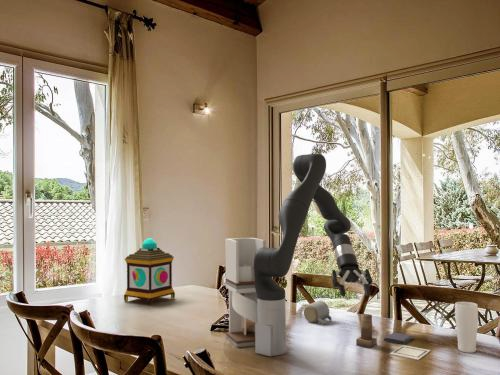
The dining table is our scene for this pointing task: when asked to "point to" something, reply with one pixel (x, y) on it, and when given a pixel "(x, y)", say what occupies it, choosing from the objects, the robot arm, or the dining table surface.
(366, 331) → the stamp
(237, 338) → the white tiered stand
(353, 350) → the dining table surface
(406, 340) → the ink pad
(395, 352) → the label card
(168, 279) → the decorative lantern
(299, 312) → the dining table surface
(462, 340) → the drinking glass
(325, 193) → the robot arm
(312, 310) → the ceramic mug
